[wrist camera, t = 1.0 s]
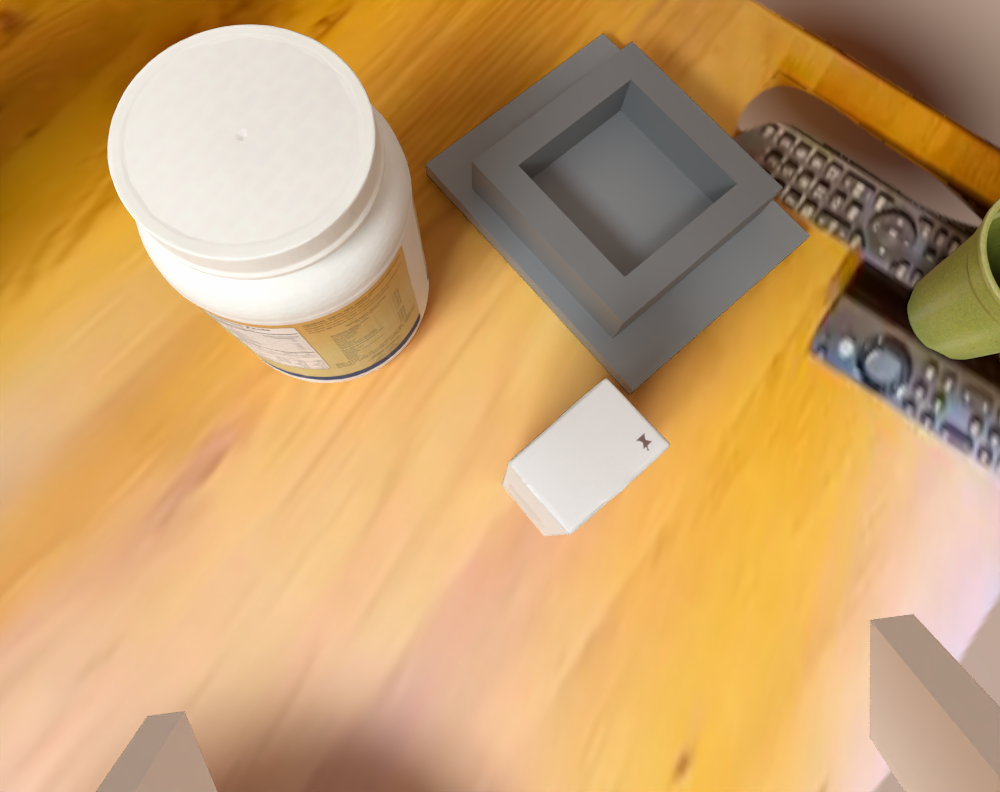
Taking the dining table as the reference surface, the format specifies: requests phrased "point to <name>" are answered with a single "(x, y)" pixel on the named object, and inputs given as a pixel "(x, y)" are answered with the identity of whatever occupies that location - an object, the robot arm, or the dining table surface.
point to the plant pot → (962, 297)
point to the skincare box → (582, 460)
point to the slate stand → (619, 206)
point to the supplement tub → (274, 199)
